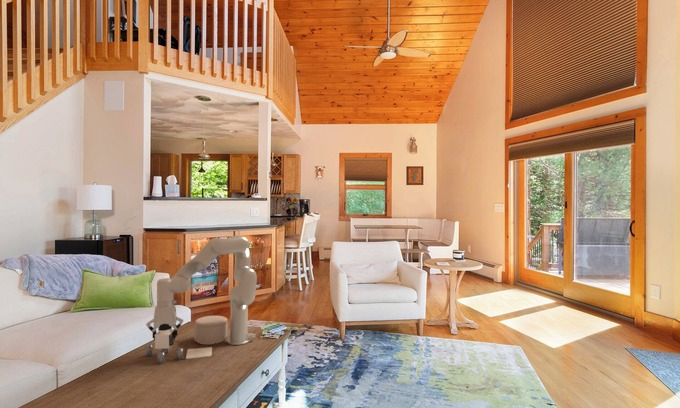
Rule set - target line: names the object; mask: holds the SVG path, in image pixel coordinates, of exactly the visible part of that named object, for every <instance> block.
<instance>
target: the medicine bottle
mask: <svg viewBox="0 0 680 408" xmlns="http://www.w3.org/2000/svg"><path fill="white" fill-rule="evenodd" d="M172 328H173V327H172V326H169V324H162V325H160V327H159V328H157V329H158V332H156V334H155V340H154V349H156V350H158V349H159V350H162V349H168V350H169V349H171V348H172V346H174V345H175V344H176V337H175V338H174V329H172Z"/></svg>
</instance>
